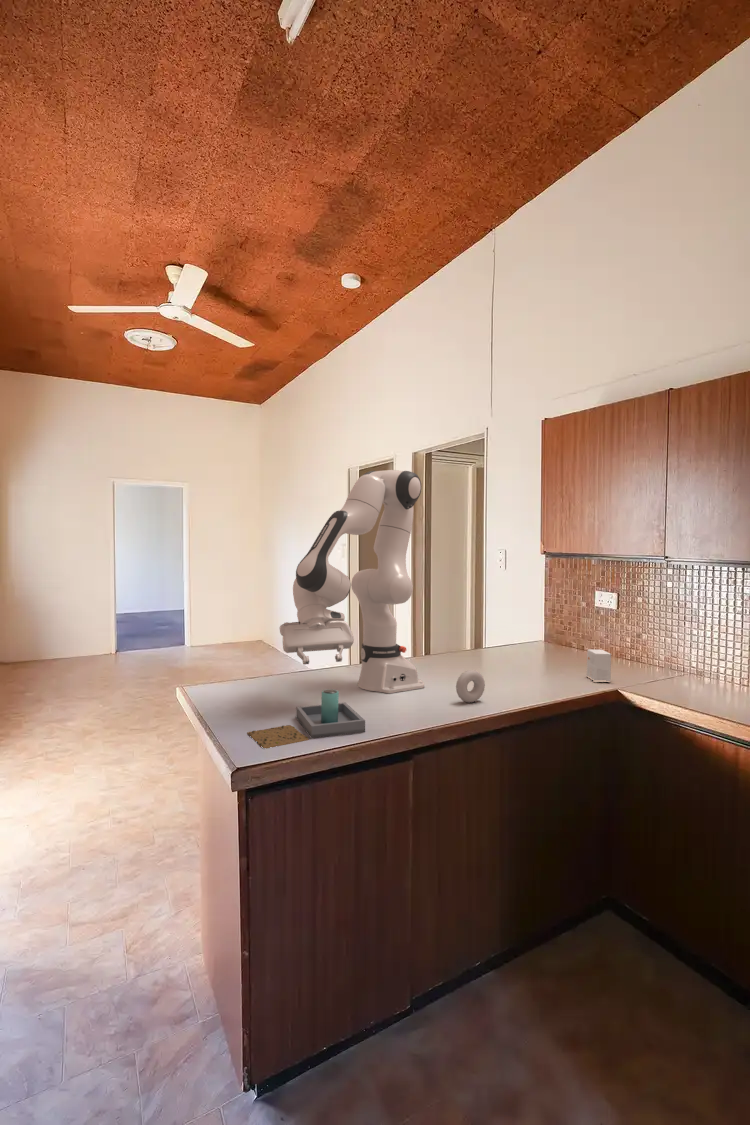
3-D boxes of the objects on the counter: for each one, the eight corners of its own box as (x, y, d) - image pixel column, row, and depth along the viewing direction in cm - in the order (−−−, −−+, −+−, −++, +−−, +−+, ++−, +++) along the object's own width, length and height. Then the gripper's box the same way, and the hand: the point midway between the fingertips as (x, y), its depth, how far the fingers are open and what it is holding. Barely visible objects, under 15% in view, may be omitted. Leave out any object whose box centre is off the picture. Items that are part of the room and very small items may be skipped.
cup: (335, 718, 146) (335, 688, 145) (340, 723, 142) (340, 693, 141) (318, 719, 144) (319, 689, 144) (323, 725, 140) (324, 694, 140)
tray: (345, 712, 153) (345, 702, 153) (365, 732, 138) (365, 720, 138) (296, 717, 148) (296, 706, 148) (311, 738, 133) (311, 726, 133)
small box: (610, 683, 192) (611, 654, 191) (594, 683, 192) (595, 653, 191) (601, 677, 200) (602, 649, 199) (586, 677, 200) (587, 649, 199)
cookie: (263, 751, 125) (263, 746, 125) (245, 734, 136) (245, 730, 136) (310, 741, 132) (310, 737, 132) (290, 726, 142) (290, 723, 142)
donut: (479, 698, 169) (480, 667, 169) (486, 702, 166) (487, 669, 166) (453, 702, 165) (454, 670, 164) (459, 705, 162) (460, 672, 161)
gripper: (280, 616, 152) (287, 658, 144) (349, 613, 160) (360, 653, 151) (276, 629, 157) (284, 671, 148) (344, 625, 164) (354, 665, 156)
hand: (323, 662), depth 150 cm, fingers open, 8 cm apart
